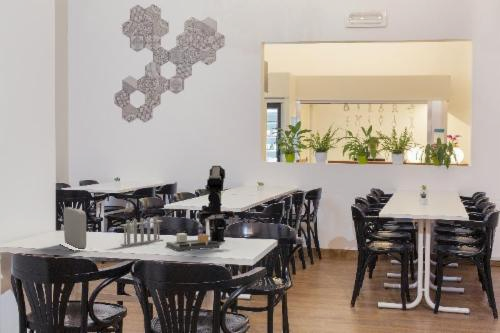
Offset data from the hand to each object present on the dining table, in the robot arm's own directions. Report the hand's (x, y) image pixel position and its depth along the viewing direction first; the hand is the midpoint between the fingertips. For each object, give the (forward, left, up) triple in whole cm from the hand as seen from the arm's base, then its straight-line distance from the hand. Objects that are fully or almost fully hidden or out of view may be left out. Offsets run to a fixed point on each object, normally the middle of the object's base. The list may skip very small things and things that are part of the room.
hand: (215, 231), depth 374 cm
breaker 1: (+15, -9, -5) cm, 18 cm away
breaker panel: (+11, -4, -8) cm, 14 cm away
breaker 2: (+7, 0, -5) cm, 9 cm away
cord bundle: (+11, +4, -6) cm, 13 cm away
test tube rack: (+30, -29, -8) cm, 43 cm away
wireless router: (+64, -35, -8) cm, 74 cm away
